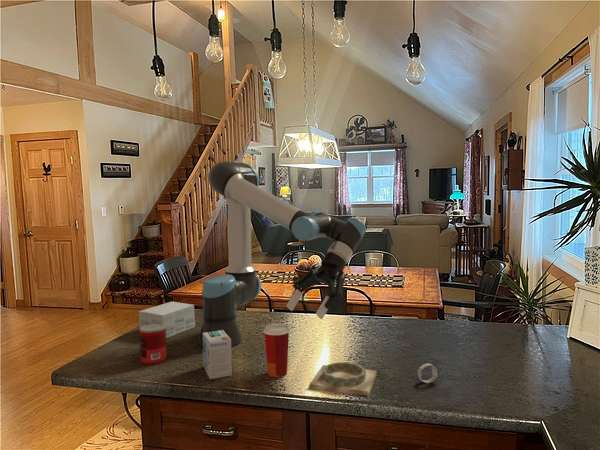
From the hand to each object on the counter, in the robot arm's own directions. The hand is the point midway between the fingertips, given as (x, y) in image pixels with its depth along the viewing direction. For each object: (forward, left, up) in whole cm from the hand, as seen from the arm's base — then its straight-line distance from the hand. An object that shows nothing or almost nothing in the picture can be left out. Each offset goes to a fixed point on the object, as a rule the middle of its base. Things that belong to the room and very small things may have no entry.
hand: (303, 312), depth 135 cm
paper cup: (-5, -9, -16) cm, 20 cm away
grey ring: (+37, -3, -16) cm, 40 cm away
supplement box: (-62, +19, -17) cm, 67 cm away
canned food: (-47, -10, -16) cm, 51 cm away
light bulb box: (-23, -12, -16) cm, 31 cm away
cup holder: (+15, -9, -16) cm, 24 cm away
